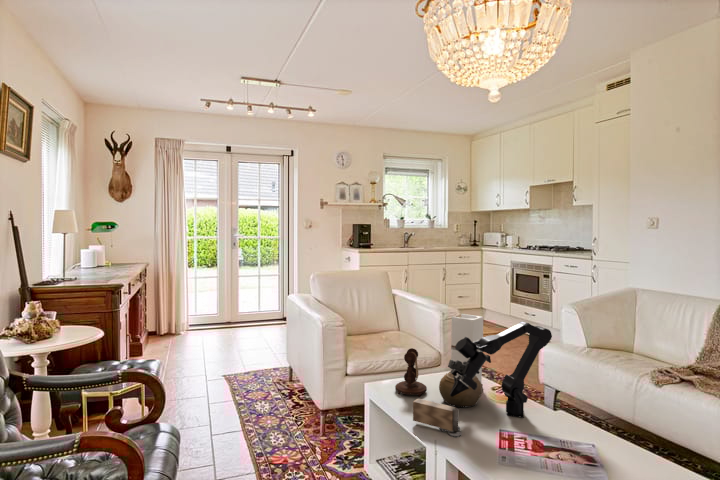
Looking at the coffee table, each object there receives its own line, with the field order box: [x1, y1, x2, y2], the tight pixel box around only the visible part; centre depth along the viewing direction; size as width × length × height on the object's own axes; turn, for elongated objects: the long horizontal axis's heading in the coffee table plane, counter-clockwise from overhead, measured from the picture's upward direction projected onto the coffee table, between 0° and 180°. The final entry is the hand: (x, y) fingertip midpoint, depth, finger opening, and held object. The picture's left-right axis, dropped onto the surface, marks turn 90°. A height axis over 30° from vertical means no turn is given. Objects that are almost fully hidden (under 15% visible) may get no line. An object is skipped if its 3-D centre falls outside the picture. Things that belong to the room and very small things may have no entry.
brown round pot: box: [438, 370, 483, 408], centre depth 194 cm, size 20×17×17 cm
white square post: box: [450, 313, 484, 389], centre depth 211 cm, size 11×11×35 cm
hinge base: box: [447, 429, 463, 438], centre depth 163 cm, size 5×5×1 cm
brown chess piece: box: [394, 348, 428, 398], centre depth 206 cm, size 15×15×20 cm
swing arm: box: [412, 398, 459, 431], centre depth 167 cm, size 18×4×8 cm, turn 57°
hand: (450, 395), depth 175 cm, fingers closed
